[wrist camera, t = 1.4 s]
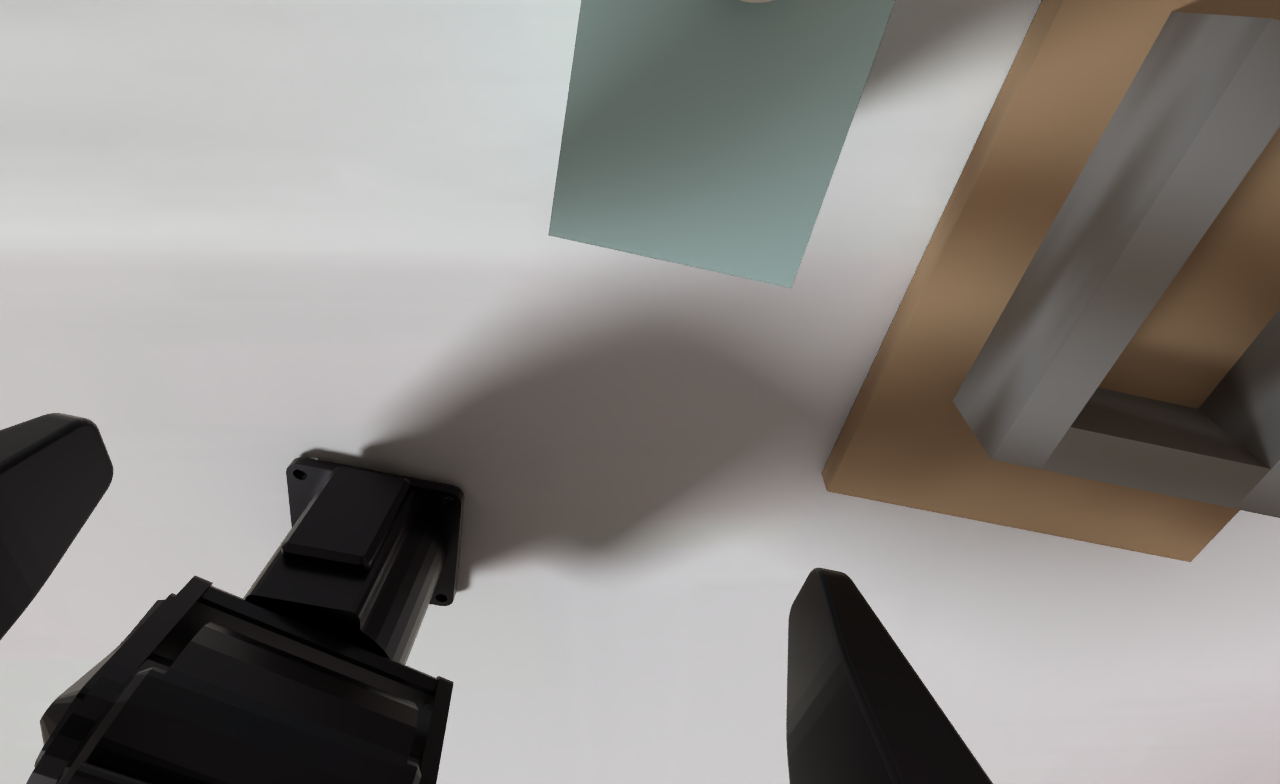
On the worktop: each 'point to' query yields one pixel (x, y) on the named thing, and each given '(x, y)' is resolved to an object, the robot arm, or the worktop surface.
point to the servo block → (710, 126)
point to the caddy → (1098, 292)
